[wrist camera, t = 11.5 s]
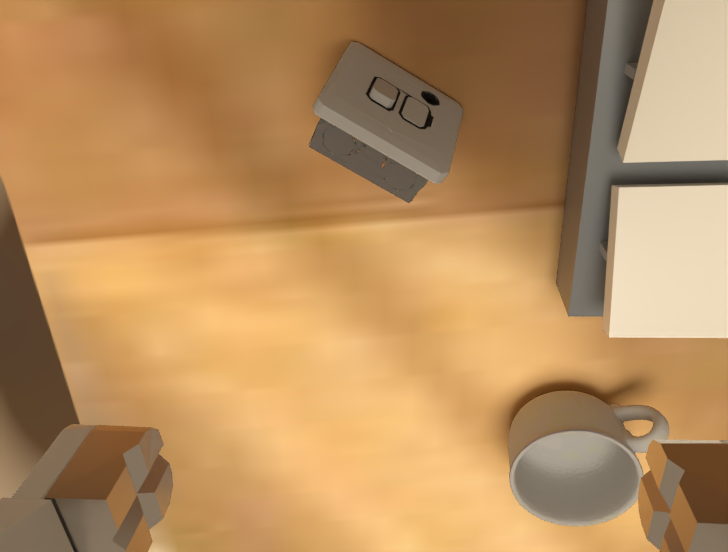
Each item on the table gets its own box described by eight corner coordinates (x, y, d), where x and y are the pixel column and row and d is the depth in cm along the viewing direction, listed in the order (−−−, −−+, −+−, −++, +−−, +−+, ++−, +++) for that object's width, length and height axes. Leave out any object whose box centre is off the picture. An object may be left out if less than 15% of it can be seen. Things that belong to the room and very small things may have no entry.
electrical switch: (465, 105, 43) (464, 155, 36) (427, 161, 46) (419, 219, 39) (352, 36, 42) (327, 73, 34) (320, 99, 45) (290, 146, 37)
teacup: (527, 471, 61) (540, 540, 54) (481, 396, 56) (489, 460, 49) (668, 427, 56) (702, 496, 49) (629, 342, 52) (660, 405, 45)
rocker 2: (611, 185, 39) (619, 187, 38) (791, 181, 38) (806, 183, 37) (602, 329, 42) (609, 337, 40) (771, 330, 41) (784, 338, 39)
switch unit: (592, -44, 38) (621, -41, 32) (838, -59, 37) (917, -59, 31) (556, 283, 50) (573, 329, 44) (742, 282, 48) (785, 330, 42)
